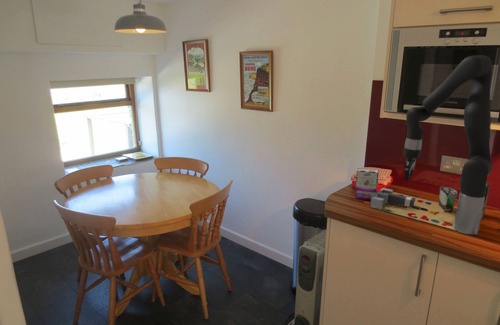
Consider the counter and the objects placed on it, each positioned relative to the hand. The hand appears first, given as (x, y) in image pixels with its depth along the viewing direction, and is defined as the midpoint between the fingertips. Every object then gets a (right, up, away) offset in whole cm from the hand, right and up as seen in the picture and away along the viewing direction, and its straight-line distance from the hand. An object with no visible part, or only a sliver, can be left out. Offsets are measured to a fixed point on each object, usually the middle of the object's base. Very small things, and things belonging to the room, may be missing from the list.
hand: (407, 178), depth 171 cm
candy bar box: (-16, -12, +16) cm, 26 cm away
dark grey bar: (-2, -14, +9) cm, 17 cm away
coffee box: (+31, -18, -5) cm, 36 cm away
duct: (-10, -13, +10) cm, 20 cm away
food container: (+21, -16, +2) cm, 27 cm away
